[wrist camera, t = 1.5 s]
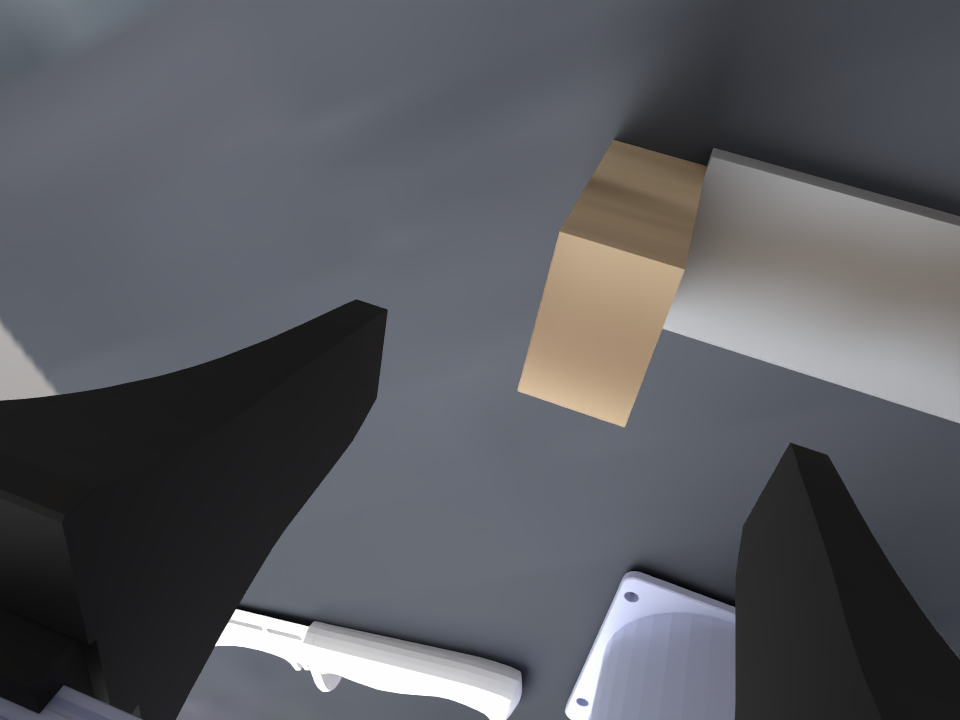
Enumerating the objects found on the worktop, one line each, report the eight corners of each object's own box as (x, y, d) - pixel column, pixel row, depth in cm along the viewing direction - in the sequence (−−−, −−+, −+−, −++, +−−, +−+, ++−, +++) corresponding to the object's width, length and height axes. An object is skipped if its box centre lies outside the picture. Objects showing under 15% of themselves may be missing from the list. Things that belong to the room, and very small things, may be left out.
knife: (45, 656, 45) (-12, 563, 42) (66, 634, 47) (13, 541, 43) (527, 799, 35) (513, 693, 31) (537, 766, 37) (525, 660, 33)
